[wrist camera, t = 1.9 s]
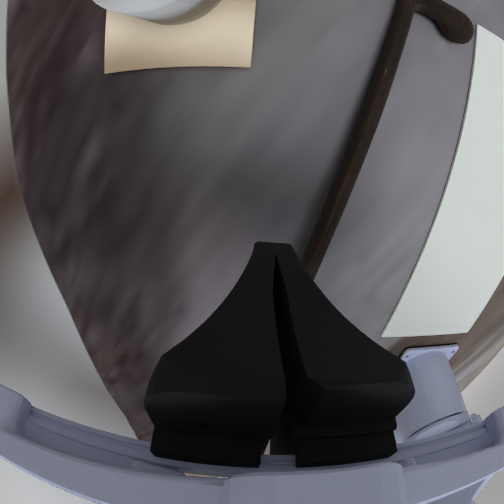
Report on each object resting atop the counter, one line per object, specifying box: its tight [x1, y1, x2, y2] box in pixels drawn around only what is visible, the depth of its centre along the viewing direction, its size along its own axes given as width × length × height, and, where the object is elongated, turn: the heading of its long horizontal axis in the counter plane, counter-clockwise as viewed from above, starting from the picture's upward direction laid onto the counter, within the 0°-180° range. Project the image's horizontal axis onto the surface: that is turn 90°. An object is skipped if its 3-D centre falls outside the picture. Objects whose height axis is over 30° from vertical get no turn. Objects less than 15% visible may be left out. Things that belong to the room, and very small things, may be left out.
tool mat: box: [381, 24, 504, 337], centre depth 19 cm, size 28×12×1 cm, turn 176°
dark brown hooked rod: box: [301, 0, 474, 280], centre depth 17 cm, size 5×5×30 cm
